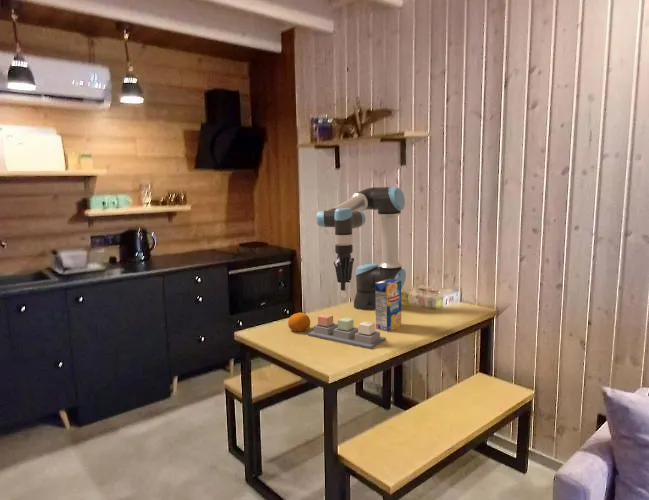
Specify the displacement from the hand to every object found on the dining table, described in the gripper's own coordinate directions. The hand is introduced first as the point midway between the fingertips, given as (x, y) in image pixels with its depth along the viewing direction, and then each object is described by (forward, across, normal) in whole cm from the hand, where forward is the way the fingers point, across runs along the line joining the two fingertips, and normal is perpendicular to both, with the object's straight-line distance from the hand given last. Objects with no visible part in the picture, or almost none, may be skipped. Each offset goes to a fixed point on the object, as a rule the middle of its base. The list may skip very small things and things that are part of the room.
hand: (344, 297), depth 215 cm
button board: (+19, 0, 0) cm, 19 cm away
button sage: (+14, 0, 0) cm, 14 cm away
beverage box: (+19, -23, +9) cm, 31 cm away
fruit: (+19, +2, -25) cm, 31 cm away
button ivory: (+14, 0, +11) cm, 18 cm away
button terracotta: (+14, 0, -11) cm, 18 cm away
